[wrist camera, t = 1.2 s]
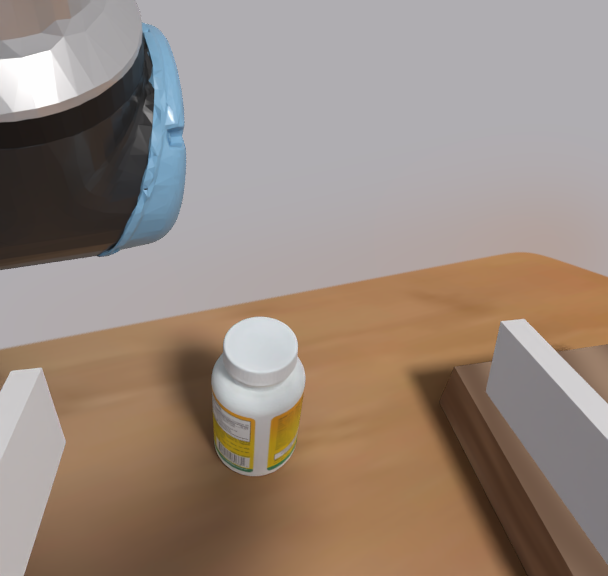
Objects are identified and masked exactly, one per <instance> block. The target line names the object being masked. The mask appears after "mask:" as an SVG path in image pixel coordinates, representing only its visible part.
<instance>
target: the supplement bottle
mask: <svg viewBox="0 0 608 576" xmlns="http://www.w3.org/2000/svg"><path fill="white" fill-rule="evenodd" d="M297 353H298V343H297V338H296V336H295V334H294V333H293V331H292V330H291V329H290V328H289V327H288V326H287V325H286V324H284V323H282V322H281V321H278V320H276V319H273V318H268V317H252V318H248V319H244V320H242V321H240V322H238V323H237V324H235V325H233V326H232V327H231V328H230V329H229V331H228V332H227V334H226V336H225V338H224V343H223V353H222V354H221V356H220V357H219V358H218V360H217V361H216V363H215V365H214V368H213V372H212V380H211V381H212V403H213V427H214V444H215V448H216V451H217V454H218V456H219V457H220V459H221V460H222V462H223V463H224V464H225V465H226V466H227V467H228V468H230V469H231V470H233V471H235V472H237V473H239V474H242V475H247V476H262V475H266V474H269V473H272V472H274V471H276V470H277V469H279V468H280V467H281V466H283V465H284V464H285V463H286V462H287V461H288V459H289V458H290V457H291V455H292V453H293V451H294V449H295V445H296V441H297V434H298V427H299V420H300V414H301V407H302V401H303V394H304V388H305V372H304V368H303V365H302V363H301V361H300V359H299V358H298V356H297Z"/></svg>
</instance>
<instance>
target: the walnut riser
mask: <svg viewBox="0 0 608 576" xmlns="http://www.w3.org/2000/svg"><path fill="white" fill-rule="evenodd" d="M557 353H558V354H559V355H560V356H561V357H562V358H563V359H564V360H565V361H566V362H567V363H568V364H569V365H570V366H571V367H572V368H573V369H574V370H575V371H576V372H577V373H578V374H579V375H580V376H581V377H582V378H583V379H584V380H585V381H586V382H587V383H588V384H589V385H590V386H591V387H592V388H593V389H594V390H595V391H596V392H597V393H598V394H599V395H600V396H601V397H602V398H603V399H604V400H605V401H606V402H607V404H608V344H607V345H600V346H593V347H586V348H580V349H573V350H566V351H559V352H557ZM491 364H492V361H491V362H484V363H477V364H470V365H464V366H457V367H454V369H453V371H452V374H451V376H450V378H449V380H448V383H447V385H446V387H445V390H444V392H443V394H442V397H441V399H440V401H439V403H440V405H441V407H442V409H443V411H444V413H445V415H446V417H447V418H448V420H449V422H450V424H451V426H452V428H453V430H454V432H455V434H456V436H457V438H458V440H459V442H460V444H461V446H462V448H463V450H464V452H465V454H466V456H467V458H468V460H469V462H470V464H471V465H472V467H473V469H474V471H475V473H476V475H477V477H478V479H479V481H480V483H481V485H482V487H483V489H484V491H485V493H486V495H487V497H488V499H489V501H490V503H491V505H492V507H493V509H494V511H495V512H496V514H497V516H498V518H499V520H500V522H501V524H502V526H503V528H504V530H505V532H506V534H507V536H508V538H509V540H510V542H511V544H512V546H513V548H514V550H515V552H516V554H517V556H518V558H519V559H520V561H521V563H522V565H523V567H524V569H525V571H526V573H527V575H528V576H608V565H607V563H606V562H605V560H604V559H603V558H602V556H601V555H600V553H599V552H598V551H597V549H596V548H595V546H594V545H593V543H592V542H591V541H590V539H589V538H588V536H587V535H586V533H585V532H584V531H583V529H582V528H581V526H580V525H579V524H578V522H577V521H576V519H575V518H574V516H573V515H572V514H571V512H570V511H569V509H568V508H567V507H566V505H565V504H564V502H563V501H562V499H561V498H560V497H559V495H558V494H557V492H556V491H555V489H554V488H553V487H552V485H551V484H550V482H549V481H548V480H547V478H546V477H545V475H544V474H543V472H542V471H541V470H540V468H539V467H538V465H537V464H536V463H535V461H534V460H533V458H532V457H531V455H530V454H529V453H528V451H527V450H526V448H525V447H524V446H523V444H522V443H521V441H520V440H519V438H518V437H517V436H516V434H515V433H514V431H513V430H512V428H511V427H510V426H509V424H508V423H507V421H506V420H505V419H504V417H503V416H502V414H501V413H500V411H499V410H498V409H497V407H496V406H495V404H494V403H493V402H492V400H491V399H490V397H489V396H488V394H487V393H486V387H487V383H488V378H489V374H490V369H491Z"/></svg>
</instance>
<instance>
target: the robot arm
mask: <svg viewBox="0 0 608 576" xmlns="http://www.w3.org/2000/svg"><path fill="white" fill-rule="evenodd" d="M183 129H184V107H183V98H182V91H181V86H180V80H179V75H178V71H177V67H176V63H175V60H174V57H173V54H172V51H171V48H170V45H169V43H168V41H167V39H166V38H165V36H164V35H163V34H162V32H161V31H160V30H159V29H158V28H156V27H155V26H152V25H149V24H145V23H142V22H141V15H140V11H139V8H138V5H137V3H136V1H135V0H0V270H3V269H11V268H18V267H24V266H31V265H38V264H45V263H50V262H58V261H64V260H71V259H78V258H84V257H91V256H98V257H102V256H109V255H111V254H114V253H116V252H118V251H119V250H121V249H125V248H131V247H135V246H140V245H145V244H149V243H153V242H155V241H157V240H159V239H161V238H162V237H164V236H165V235H166V234H167V233H168V232H169V231H170V230H171V228H172V227H173V225H174V223H175V222H176V220H177V217H178V214H179V211H180V208H181V204H182V199H183V193H184V185H185V174H186V148H185V145H184V141H183V138H182V134H183ZM486 393H487V394H488V396H489V397H490V399H491V400H492V402H493V403H494V404H495V406H496V407H497V409H498V410H499V411H500V413H501V414H502V416H503V417H504V419H505V420H506V421H507V423H508V424H509V426H510V427H511V428H512V430H513V431H514V433H515V434H516V436H517V437H518V438H519V440H520V441H521V443H522V444H523V446H524V447H525V448H526V450H527V451H528V453H529V454H530V455H531V457H532V458H533V460H534V461H535V463H536V464H537V465H538V467H539V468H540V470H541V471H542V472H543V474H544V475H545V477H546V478H547V480H548V481H549V482H550V484H551V485H552V487H553V488H554V489H555V491H556V492H557V494H558V495H559V497H560V498H561V499H562V501H563V502H564V504H565V505H566V507H567V508H568V509H569V511H570V512H571V514H572V515H573V516H574V518H575V519H576V521H577V522H578V524H579V525H580V526H581V528H582V529H583V531H584V532H585V533H586V535H587V536H588V538H589V539H590V541H591V542H592V543H593V545H594V546H595V548H596V549H597V551H598V552H599V553H600V555H601V556H602V558H603V559H604V560H605V562H606V563H607V565H608V404H607V402H606V401H605V400H604V399H603V398H602V397H601V396H600V395H599V394H598V393H597V392H596V391H595V390H594V389H593V388H592V387H591V386H590V385H589V384H588V383H587V382H586V381H585V380H584V379H583V378H582V377H581V376H580V375H579V374H578V373H577V372H576V371H575V370H574V369H573V368H572V367H571V366H570V365H569V364H568V363H567V362H566V361H565V360H564V359H563V358H562V357H561V356H560V355H559V354H558V353H557V352H556V351H555V350H554V349H553V348H552V347H551V346H550V345H549V344H548V343H547V342H546V340H545V339H544V338H543V337H542V336H541V335H540V334H539V333H538V332H537V331H536V330H535V329H534V328H533V327H532V326H531V325H530V324H529V323H528V322H527V321H526V320H525V319H519V320H509V321H501V323H500V327H499V332H498V337H497V341H496V346H495V350H494V355H493V360H492V364H491V369H490V374H489V378H488V383H487V387H486ZM65 444H66V441H65V438H64V435H63V432H62V428H61V425H60V422H59V419H58V416H57V413H56V410H55V407H54V404H53V401H52V398H51V395H50V392H49V388H48V385H47V382H46V379H45V376H44V373H43V370H42V368H34V369H24V370H14V371H11V372H10V374H9V376H8V378H7V380H6V382H5V384H4V386H3V388H2V389H1V391H0V576H24V573H25V570H26V567H27V564H28V561H29V558H30V554H31V551H32V548H33V545H34V542H35V539H36V535H37V532H38V529H39V526H40V523H41V520H42V516H43V513H44V510H45V507H46V504H47V501H48V497H49V494H50V491H51V488H52V485H53V482H54V479H55V475H56V472H57V469H58V466H59V463H60V460H61V456H62V453H63V450H64V447H65Z"/></svg>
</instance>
